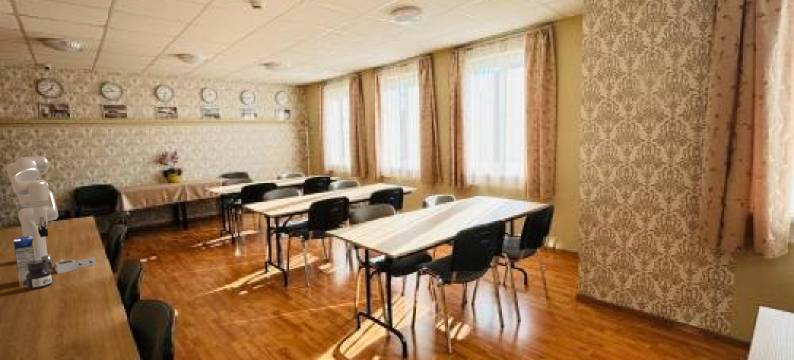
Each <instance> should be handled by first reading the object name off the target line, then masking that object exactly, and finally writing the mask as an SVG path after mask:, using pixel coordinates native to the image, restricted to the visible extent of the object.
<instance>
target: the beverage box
mask: <svg viewBox="0 0 794 360" xmlns="http://www.w3.org/2000/svg"><path fill="white" fill-rule="evenodd" d="M13 247H14V253H15V254H14V255H15V260H16V268H17V275H18V283H19V287H22V286H27V282H26V275H27V274H28V273H29V271H28V267H27V263H29V262H33V261H36V258H35V250H34V242H33V235H32V236H25V237H23V236H19V237H14V238H13Z"/></svg>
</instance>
